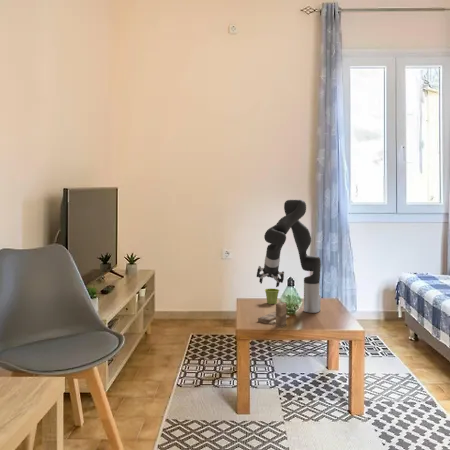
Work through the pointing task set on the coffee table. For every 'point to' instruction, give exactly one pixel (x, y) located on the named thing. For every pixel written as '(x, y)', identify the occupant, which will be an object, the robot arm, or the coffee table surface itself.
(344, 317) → the coffee table surface
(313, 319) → the coffee table surface
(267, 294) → the plant pot
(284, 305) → the plank
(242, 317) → the coffee table surface
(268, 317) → the floor board
